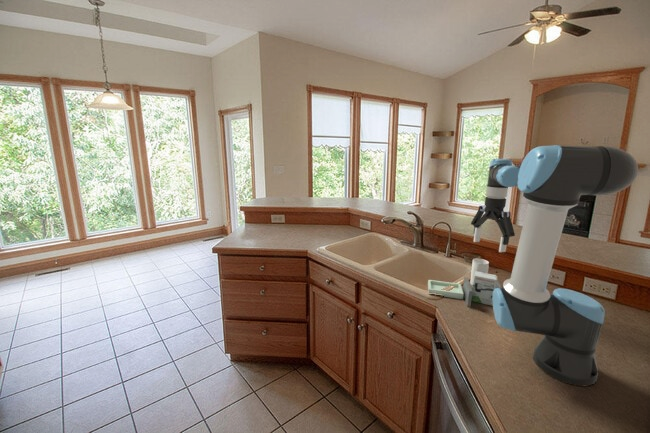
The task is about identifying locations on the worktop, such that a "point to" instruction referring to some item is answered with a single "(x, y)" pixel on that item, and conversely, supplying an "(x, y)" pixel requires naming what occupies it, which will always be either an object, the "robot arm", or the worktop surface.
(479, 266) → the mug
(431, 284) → the tray
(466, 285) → the bay
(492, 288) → the ink box
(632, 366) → the worktop surface
